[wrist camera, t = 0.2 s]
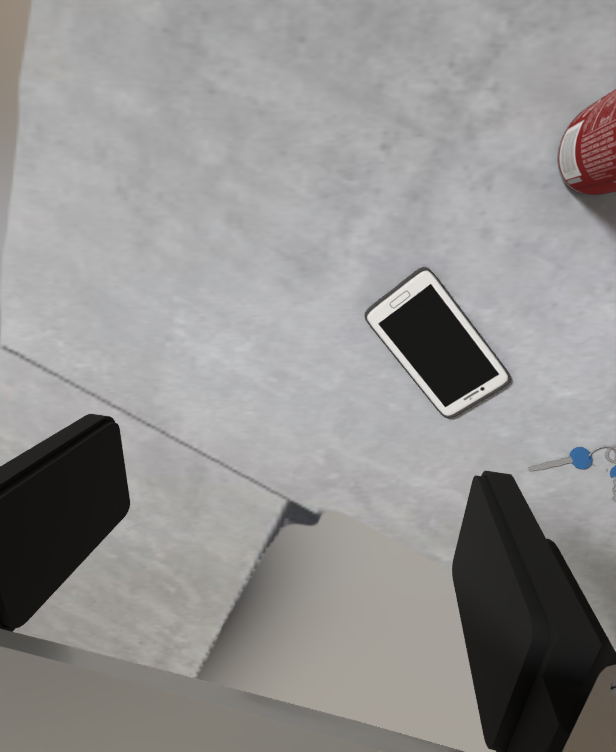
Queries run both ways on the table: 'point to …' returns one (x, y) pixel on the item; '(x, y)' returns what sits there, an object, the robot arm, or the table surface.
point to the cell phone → (436, 344)
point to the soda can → (591, 149)
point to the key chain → (581, 461)
